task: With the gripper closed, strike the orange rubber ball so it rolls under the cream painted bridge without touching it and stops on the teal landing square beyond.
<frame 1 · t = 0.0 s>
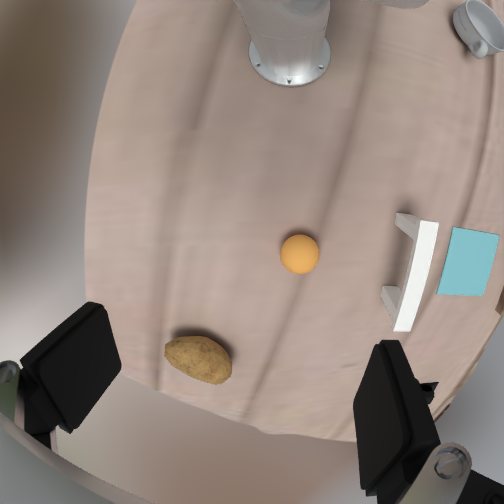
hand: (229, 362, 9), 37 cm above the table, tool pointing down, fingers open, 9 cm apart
teacup: (467, 39, 26), on the table
black angular piece: (421, 387, 52), on the table
bridge: (396, 256, 43), on the table
ball: (299, 254, 42), on the table
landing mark: (470, 263, 41), on the table
potato: (205, 345, 56), on the table
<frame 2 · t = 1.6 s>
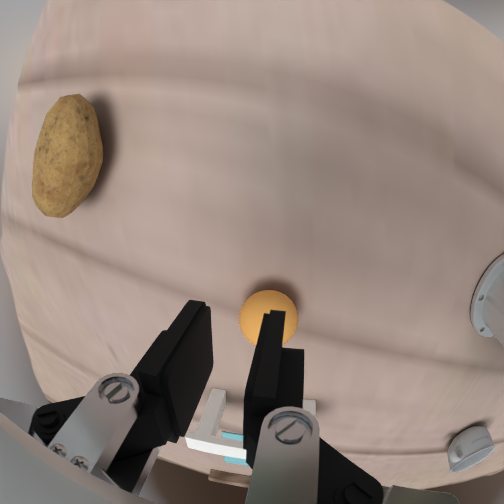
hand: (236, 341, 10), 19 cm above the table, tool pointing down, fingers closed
stopper: (254, 478, 47), on the table
teacup: (461, 433, 35), on the table
bridge: (262, 401, 37), on the table
ball: (268, 319, 28), on the table
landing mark: (257, 453, 42), on the table
potato: (89, 152, 28), on the table
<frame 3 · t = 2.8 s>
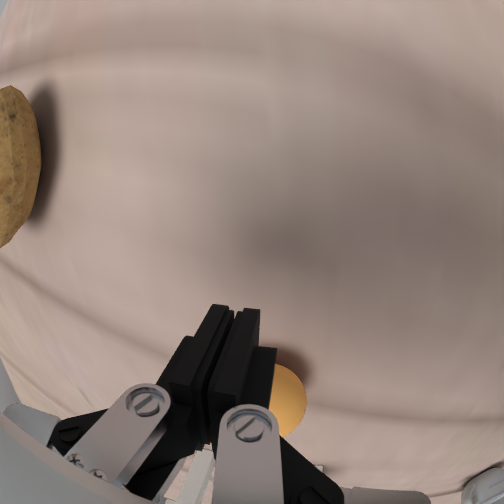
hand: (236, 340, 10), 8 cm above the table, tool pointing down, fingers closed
teacup: (478, 475, 24), on the table
bridge: (259, 464, 26), on the table
ball: (264, 402, 18), on the table
potato: (34, 160, 19), on the table
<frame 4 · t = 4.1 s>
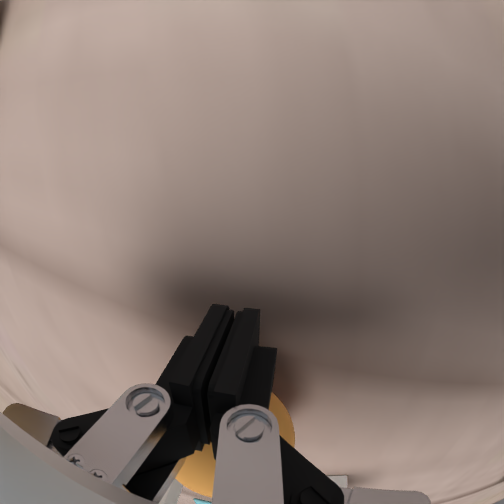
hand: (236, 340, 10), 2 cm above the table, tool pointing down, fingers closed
bridge: (250, 478, 17), on the table
ball: (225, 438, 10), on the table
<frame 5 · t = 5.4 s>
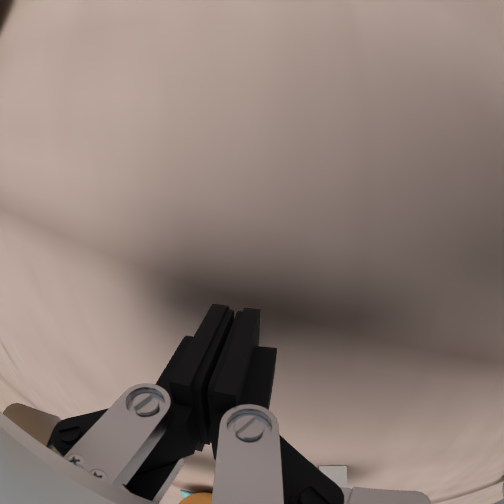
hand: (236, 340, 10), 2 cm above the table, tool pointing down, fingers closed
bridge: (241, 467, 16), on the table
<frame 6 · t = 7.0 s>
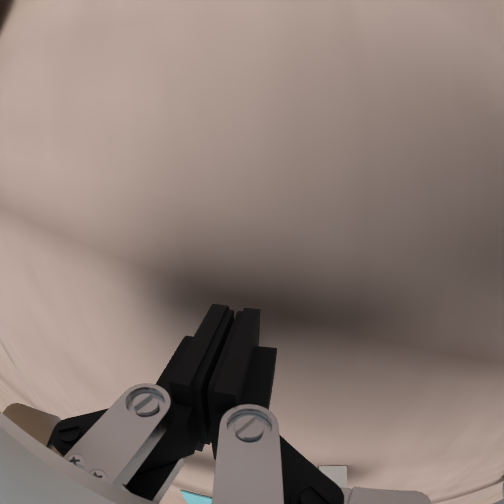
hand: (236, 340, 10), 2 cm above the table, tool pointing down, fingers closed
bridge: (241, 467, 16), on the table
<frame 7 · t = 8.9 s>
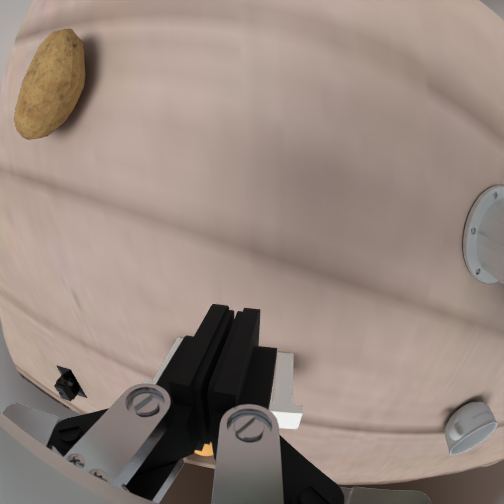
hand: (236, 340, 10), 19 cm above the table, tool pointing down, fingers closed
stopper: (230, 459, 45), on the table
teacup: (459, 410, 35), on the table
black angular piece: (73, 379, 44), on the table
bridge: (233, 355, 34), on the table
ball: (205, 440, 38), on the table
potato: (73, 87, 25), on the table
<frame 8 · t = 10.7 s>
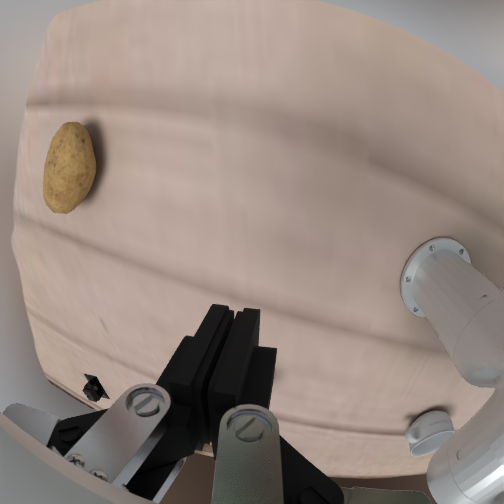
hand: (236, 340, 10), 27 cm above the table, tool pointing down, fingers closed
stopper: (227, 449, 56), on the table
teacup: (422, 417, 45), on the table
black angular piece: (98, 384, 57), on the table
potato: (86, 164, 37), on the table
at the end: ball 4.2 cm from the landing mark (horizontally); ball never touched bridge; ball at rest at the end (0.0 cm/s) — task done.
